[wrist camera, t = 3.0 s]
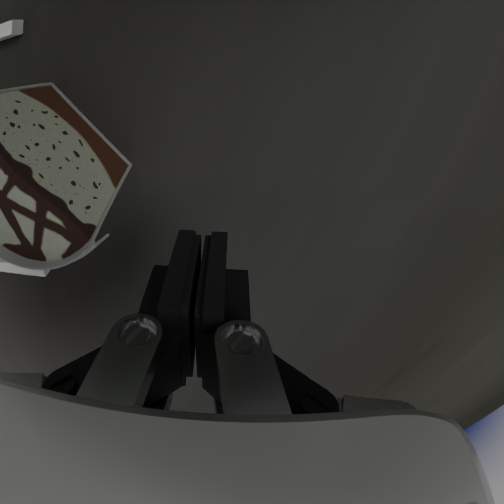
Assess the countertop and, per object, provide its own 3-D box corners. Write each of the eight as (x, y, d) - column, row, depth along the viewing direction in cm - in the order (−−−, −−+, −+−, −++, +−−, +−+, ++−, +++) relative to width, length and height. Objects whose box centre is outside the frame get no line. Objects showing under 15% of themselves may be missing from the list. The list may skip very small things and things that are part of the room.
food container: (3, 129, 19) (-81, 178, 10) (41, 70, 17) (-54, 96, 8) (98, 226, 24) (46, 311, 16) (146, 178, 22) (96, 257, 14)
